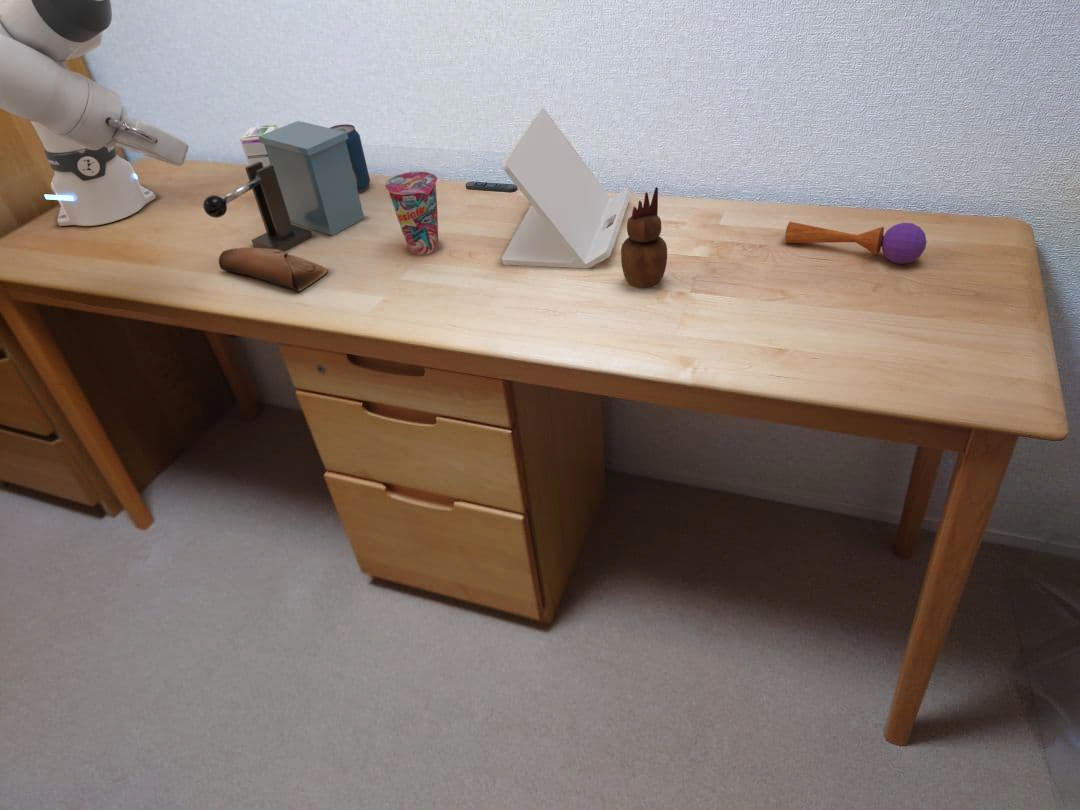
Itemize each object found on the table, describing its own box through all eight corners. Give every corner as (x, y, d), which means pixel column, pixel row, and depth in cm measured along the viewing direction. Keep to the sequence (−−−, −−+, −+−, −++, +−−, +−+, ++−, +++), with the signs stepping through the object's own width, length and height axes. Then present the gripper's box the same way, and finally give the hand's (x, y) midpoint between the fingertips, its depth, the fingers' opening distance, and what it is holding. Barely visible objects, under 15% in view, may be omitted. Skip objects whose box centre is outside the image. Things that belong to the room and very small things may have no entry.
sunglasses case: (331, 267, 127) (308, 245, 121) (312, 303, 126) (287, 283, 120) (257, 249, 135) (231, 227, 129) (237, 282, 134) (211, 262, 128)
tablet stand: (501, 264, 124) (488, 163, 114) (536, 199, 143) (528, 107, 132) (610, 269, 120) (608, 164, 110) (632, 201, 139) (632, 106, 128)
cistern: (331, 237, 138) (306, 148, 128) (284, 221, 145) (258, 136, 135) (367, 218, 143) (346, 131, 133) (321, 203, 150) (298, 120, 140)
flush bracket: (276, 255, 134) (251, 178, 125) (253, 246, 138) (227, 171, 129) (312, 236, 139) (290, 161, 130) (289, 228, 142) (266, 154, 133)
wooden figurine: (665, 273, 118) (668, 180, 108) (666, 292, 113) (669, 197, 104) (621, 274, 119) (620, 182, 109) (621, 293, 114) (619, 199, 105)
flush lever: (217, 223, 125) (207, 204, 123) (205, 219, 127) (195, 200, 124) (277, 186, 131) (269, 167, 129) (265, 182, 133) (256, 163, 131)
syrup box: (292, 208, 149) (269, 134, 140) (262, 210, 150) (238, 137, 141) (299, 196, 154) (278, 124, 145) (271, 198, 154) (248, 126, 145)
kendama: (795, 209, 122) (932, 220, 112) (791, 245, 125) (925, 259, 115) (784, 217, 118) (926, 230, 108) (781, 255, 121) (918, 270, 111)
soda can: (360, 179, 158) (347, 120, 151) (377, 187, 154) (364, 128, 146) (331, 189, 155) (315, 130, 148) (347, 198, 151) (332, 138, 143)
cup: (389, 255, 130) (374, 188, 123) (418, 233, 136) (405, 168, 128) (434, 264, 126) (421, 195, 119) (461, 241, 132) (451, 174, 125)
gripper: (137, 104, 101) (225, 151, 113) (65, 85, 112) (153, 130, 124) (120, 148, 101) (209, 191, 113) (50, 125, 112) (139, 166, 124)
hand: (179, 159), depth 118 cm, fingers closed
